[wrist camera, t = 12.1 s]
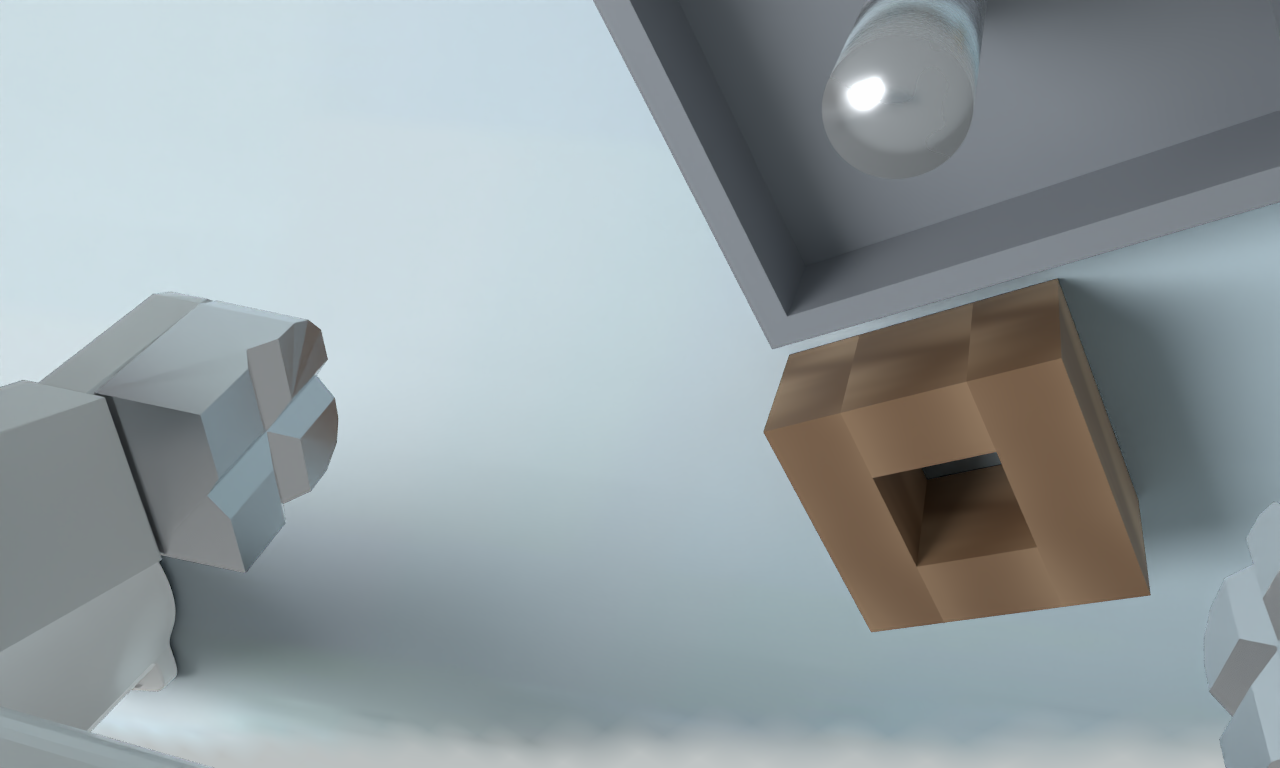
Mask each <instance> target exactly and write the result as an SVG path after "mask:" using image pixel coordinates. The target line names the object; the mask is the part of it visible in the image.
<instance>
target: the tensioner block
mask: <svg viewBox="0 0 1280 768" xmlns="http://www.w3.org/2000/svg"><path fill="white" fill-rule="evenodd" d="M764 434H765V436H766V438H767V440H768V441H769V443H770V445H771V447H772V449H773V451H774V453H775V454H776V456H777V458H778V460H779V462H780V464H781V466H782V467H783V469H784V471H785V473H786V475H787V477H788V479H789V480H790V482H791V484H792V486H793V488H794V490H795V492H796V493H797V495H798V497H799V499H800V501H801V503H802V505H803V506H804V508H805V510H806V512H807V514H808V516H809V518H810V519H811V521H812V523H813V525H814V527H815V529H816V531H817V533H818V534H819V536H820V538H821V540H822V542H823V544H824V546H825V547H826V549H827V551H828V553H829V555H830V557H831V559H832V560H833V562H834V564H835V566H836V568H837V570H838V572H839V573H840V575H841V577H842V579H843V581H844V583H845V585H846V586H847V588H848V590H849V592H850V594H851V596H852V598H853V599H854V601H855V603H856V605H857V607H858V609H859V611H860V612H861V614H862V616H863V618H864V620H865V622H866V624H867V625H868V627H869V629H870V631H871V632H877V631H884V630H892V629H899V628H907V627H915V626H922V625H930V624H937V623H945V622H952V621H960V620H967V619H975V618H982V617H990V616H998V615H1005V614H1013V613H1020V612H1028V611H1035V610H1043V609H1050V608H1058V607H1065V606H1073V605H1081V604H1088V603H1096V602H1103V601H1111V600H1118V599H1126V598H1133V597H1141V596H1148V595H1151V594H1150V586H1149V579H1148V571H1147V563H1146V556H1145V548H1144V540H1143V532H1142V525H1141V517H1140V509H1139V502H1138V498H1137V495H1136V492H1135V490H1134V487H1133V484H1132V481H1131V479H1130V476H1129V473H1128V470H1127V468H1126V465H1125V462H1124V459H1123V457H1122V454H1121V451H1120V448H1119V446H1118V443H1117V440H1116V437H1115V435H1114V432H1113V429H1112V426H1111V424H1110V421H1109V418H1108V415H1107V413H1106V410H1105V407H1104V404H1103V402H1102V399H1101V396H1100V393H1099V391H1098V388H1097V385H1096V382H1095V380H1094V377H1093V374H1092V371H1091V369H1090V366H1089V363H1088V360H1087V358H1086V355H1085V352H1084V350H1083V347H1082V344H1081V341H1080V339H1079V336H1078V333H1077V330H1076V328H1075V325H1074V322H1073V319H1072V317H1071V314H1070V311H1069V308H1068V306H1067V303H1066V300H1065V297H1064V295H1063V292H1062V289H1061V286H1060V284H1059V281H1058V279H1054V280H1051V281H1047V282H1044V283H1040V284H1037V285H1033V286H1030V287H1026V288H1023V289H1019V290H1016V291H1012V292H1009V293H1005V294H1002V295H998V296H995V297H991V298H988V299H984V300H981V301H977V302H974V303H970V304H967V305H963V306H960V307H956V308H953V309H949V310H946V311H942V312H938V313H935V314H931V315H928V316H924V317H921V318H917V319H914V320H910V321H907V322H903V323H900V324H896V325H893V326H889V327H886V328H882V329H879V330H875V331H872V332H868V333H865V334H861V335H858V336H854V337H851V338H847V339H844V340H840V341H837V342H833V343H830V344H826V345H823V346H819V347H816V348H812V349H809V350H805V351H802V352H798V353H795V354H791V355H789V357H788V360H787V363H786V366H785V369H784V372H783V375H782V378H781V381H780V384H779V387H778V390H777V393H776V396H775V399H774V402H773V405H772V408H771V411H770V414H769V417H768V420H767V423H766V426H765V429H764ZM994 452H997V455H998V457H999V459H1000V462H1001V464H1002V465H997V466H992V467H987V468H982V469H977V470H972V471H967V472H963V473H958V474H953V475H948V476H943V477H938V478H933V479H928V480H927V478H926V476H925V474H924V472H923V470H922V467H927V466H932V465H937V464H941V463H946V462H951V461H956V460H960V459H965V458H970V457H975V456H979V455H984V454H989V453H994Z"/></svg>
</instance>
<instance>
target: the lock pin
mask: <svg viewBox="0 0 1280 768" xmlns="http://www.w3.org/2000/svg"><path fill="white" fill-rule="evenodd" d="M986 7H987V0H865V2H864V5H863V7H862V9H861V11H860V13H859V15H858V17H857V20H856V22H855V24H854V26H853V28H852V30H851V32H850V35H849V37H848V39H847V41H846V43H845V45H844V47H843V50H842V52H841V54H840V56H839V58H838V60H837V63H836V65H835V67H834V69H833V71H832V73H831V75H830V78H829V80H828V82H827V84H826V87H825V91H824V94H823V100H822V118H823V124H824V128H825V131H826V134H827V136H828V139H829V140H830V142H831V144H832V146H833V147H834V148H835V150H836V151H837V152H838V154H839V155H840V156H841V157H842V158H843V159H844V160H845V161H847V162H848V163H849V164H850V165H852V166H853V167H855V168H857V169H858V170H860V171H862V172H864V173H867V174H869V175H873V176H876V177H881V178H887V179H903V178H910V177H915V176H918V175H922V174H925V173H927V172H929V171H931V170H933V169H935V168H937V167H938V166H940V165H941V164H943V163H944V162H945V161H947V160H948V159H949V158H950V157H951V156H952V155H953V154H954V153H955V152H956V151H957V149H958V148H959V147H960V145H961V144H962V142H963V141H964V139H965V137H966V135H967V133H968V130H969V128H970V125H971V121H972V117H973V109H974V101H975V93H976V86H977V78H978V70H979V62H980V54H981V46H982V39H983V31H984V23H985V15H986Z"/></svg>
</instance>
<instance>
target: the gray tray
mask: <svg viewBox="0 0 1280 768" xmlns="http://www.w3.org/2000/svg"><path fill="white" fill-rule="evenodd" d="M593 1H594V3H595V5H596V7H597V9H598V11H599V13H600V15H601V16H602V18H603V20H604V22H605V24H606V26H607V28H608V30H609V32H610V34H611V36H612V38H613V40H614V42H615V44H616V46H617V48H618V50H619V52H620V54H621V55H622V57H623V59H624V61H625V63H626V65H627V67H628V69H629V71H630V73H631V75H632V77H633V79H634V81H635V83H636V85H637V87H638V89H639V91H640V93H641V94H642V96H643V98H644V100H645V102H646V104H647V106H648V108H649V110H650V112H651V114H652V116H653V118H654V120H655V122H656V124H657V126H658V128H659V130H660V132H661V133H662V135H663V137H664V139H665V141H666V143H667V145H668V147H669V149H670V151H671V153H672V155H673V157H674V159H675V161H676V163H677V165H678V167H679V169H680V171H681V172H682V174H683V176H684V178H685V180H686V182H687V184H688V186H689V188H690V190H691V192H692V194H693V196H694V198H695V200H696V202H697V204H698V206H699V208H700V210H701V211H702V213H703V215H704V217H705V219H706V221H707V223H708V225H709V227H710V229H711V231H712V233H713V235H714V237H715V239H716V241H717V243H718V245H719V247H720V249H721V250H722V252H723V254H724V256H725V258H726V260H727V262H728V264H729V266H730V268H731V270H732V272H733V274H734V276H735V278H736V280H737V282H738V284H739V286H740V288H741V289H742V291H743V293H744V295H745V297H746V299H747V301H748V303H749V305H750V307H751V309H752V311H753V313H754V315H755V317H756V319H757V321H758V323H759V325H760V327H761V328H762V330H763V332H764V334H765V336H766V338H767V340H768V342H769V344H770V346H771V348H772V349H775V348H779V347H782V346H786V345H789V344H793V343H796V342H800V341H803V340H806V339H810V338H813V337H817V336H820V335H824V334H827V333H831V332H834V331H837V330H841V329H844V328H848V327H851V326H855V325H858V324H862V323H865V322H868V321H872V320H875V319H879V318H882V317H886V316H889V315H892V314H896V313H899V312H903V311H906V310H910V309H913V308H917V307H920V306H923V305H927V304H930V303H934V302H937V301H941V300H944V299H948V298H951V297H954V296H958V295H961V294H965V293H968V292H972V291H975V290H979V289H982V288H985V287H989V286H992V285H996V284H999V283H1003V282H1006V281H1010V280H1013V279H1016V278H1020V277H1023V276H1027V275H1030V274H1034V273H1037V272H1041V271H1044V270H1047V269H1051V268H1054V267H1058V266H1061V265H1065V264H1068V263H1071V262H1075V261H1078V260H1082V259H1085V258H1089V257H1092V256H1096V255H1099V254H1102V253H1106V252H1109V251H1113V250H1116V249H1120V248H1123V247H1127V246H1130V245H1133V244H1137V243H1140V242H1144V241H1147V240H1151V239H1154V238H1158V237H1161V236H1164V235H1168V234H1171V233H1175V232H1178V231H1182V230H1185V229H1189V228H1192V227H1195V226H1199V225H1202V224H1206V223H1209V222H1213V221H1216V220H1220V219H1223V218H1226V217H1230V216H1233V215H1237V214H1240V213H1244V212H1247V211H1250V210H1254V209H1257V208H1261V207H1264V206H1268V205H1271V204H1275V203H1278V202H1280V0H987V7H986V15H985V23H984V31H983V39H982V46H981V54H980V62H979V70H978V78H977V86H976V93H975V101H974V109H973V117H972V121H971V125H970V128H969V130H968V133H967V135H966V137H965V139H964V141H963V142H962V144H961V145H960V147H959V148H958V149H957V151H956V152H955V153H954V154H953V155H952V156H951V157H950V158H949V159H948V160H947V161H945V162H944V163H943V164H941V165H940V166H938V167H937V168H935V169H933V170H931V171H929V172H927V173H925V174H922V175H918V176H915V177H910V178H903V179H887V178H881V177H876V176H873V175H869V174H867V173H864V172H862V171H860V170H858V169H857V168H855V167H853V166H852V165H850V164H849V163H848V162H847V161H845V160H844V159H843V158H842V157H841V156H840V155H839V154H838V152H837V151H836V150H835V148H834V147H833V146H832V144H831V142H830V140H829V139H828V136H827V134H826V131H825V128H824V124H823V118H822V100H823V94H824V91H825V87H826V84H827V82H828V80H829V78H830V75H831V73H832V71H833V69H834V67H835V65H836V63H837V60H838V58H839V56H840V54H841V52H842V50H843V47H844V45H845V43H846V41H847V39H848V37H849V35H850V32H851V30H852V28H853V26H854V24H855V22H856V20H857V17H858V15H859V13H860V11H861V9H862V7H863V5H864V2H865V0H593Z"/></svg>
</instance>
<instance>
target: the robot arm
mask: <svg viewBox="0 0 1280 768" xmlns="http://www.w3.org/2000/svg"><path fill="white" fill-rule="evenodd" d="M327 360H328V358H327V354H326V350H325V345H324V341H323V337H322V332H321V329H319V328H318V327H317V326H315V325H314V324H313V323H312V322H310V321H309V320H307V319H302V318H297V317H292V316H288V315H283V314H278V313H273V312H269V311H264V310H259V309H255V308H250V307H245V306H240V305H236V304H231V303H226V302H222V301H212V300H209V299H205V298H200V297H195V296H190V295H185V294H180V293H175V292H165V293H157V294H152V295H151V296H150V297H148V298H147V299H146V300H145V301H143V302H142V303H141V304H139V305H138V306H137V307H135V308H134V309H133V310H132V311H130V312H129V313H128V314H126V315H125V316H124V317H123V318H121V319H120V320H119V321H117V322H116V323H115V324H114V325H112V326H111V327H110V328H108V329H107V330H106V331H104V332H103V333H102V334H101V335H99V336H98V337H97V338H95V339H94V340H93V341H92V342H90V343H89V344H88V345H86V346H85V347H84V348H83V349H81V350H80V351H79V352H77V353H76V354H75V355H74V356H72V357H71V358H70V359H68V360H67V361H66V362H64V363H63V364H62V365H61V366H59V367H58V368H57V369H55V370H54V371H53V372H52V373H50V374H49V375H48V376H46V377H45V378H44V379H43V380H41V381H40V382H39V383H37V382H32V381H27V380H21V381H18V382H15V383H12V384H9V385H5V386H2V387H0V768H214V767H210V766H207V765H203V764H200V763H196V762H193V761H189V760H186V759H182V758H179V757H175V756H172V755H168V754H165V753H161V752H158V751H154V750H151V749H147V748H144V747H141V746H137V745H134V744H130V743H127V742H123V741H120V740H116V739H113V738H109V737H106V736H102V735H99V734H95V733H92V732H91V731H92V730H93V729H94V728H95V727H96V726H97V725H98V724H99V723H100V722H101V721H102V720H103V719H104V718H105V717H106V716H107V715H108V714H109V712H110V711H111V710H112V709H113V708H114V707H115V706H116V705H117V704H118V703H119V702H120V701H121V700H122V699H123V698H124V697H125V696H126V695H127V694H128V693H129V692H130V691H131V690H138V691H161V690H163V689H164V688H165V687H166V686H167V685H168V684H169V683H170V682H171V681H172V680H173V679H174V678H175V677H176V676H177V667H176V663H175V659H174V656H173V653H172V650H171V648H170V636H171V632H172V629H173V626H174V622H175V602H174V597H173V593H172V590H171V587H170V584H169V582H168V579H167V577H166V575H165V573H164V571H163V569H162V567H161V565H160V564H159V561H161V559H162V558H161V555H163V556H167V557H172V558H177V559H181V560H186V561H191V562H196V563H200V564H205V565H210V566H214V567H219V568H224V569H228V570H233V571H238V572H242V573H246V572H247V571H248V570H249V568H250V567H251V566H252V565H253V563H254V562H255V561H256V560H257V558H258V557H259V556H260V555H261V553H262V552H263V551H264V550H265V548H266V547H267V546H268V545H269V543H270V542H271V541H272V540H273V538H274V537H275V536H276V535H277V533H278V532H279V531H280V530H281V528H282V527H283V526H284V525H285V523H286V522H285V514H284V505H283V504H284V503H286V502H288V501H291V500H293V499H295V498H297V497H299V496H301V495H304V494H306V493H308V492H310V491H311V490H312V489H313V488H314V486H315V485H316V484H317V482H318V481H319V480H320V478H321V477H322V476H323V474H324V473H325V472H326V470H327V468H328V465H329V462H330V460H331V457H332V454H333V451H334V449H335V446H336V443H337V431H338V414H337V408H336V402H335V397H334V396H333V395H332V394H331V393H330V391H329V390H328V389H327V388H326V387H325V385H324V384H323V383H322V382H321V380H320V379H319V378H318V377H317V376H316V375H317V374H318V373H319V371H320V370H321V368H322V367H323V365H324V364H325V363H326V361H327ZM1246 541H1247V544H1248V548H1249V552H1250V555H1251V559H1252V562H1253V564H1252V565H1250V566H1248V567H1246V568H1244V569H1242V570H1240V571H1238V572H1236V573H1234V574H1232V575H1230V576H1228V577H1226V578H1224V580H1223V582H1222V584H1221V586H1220V589H1219V591H1218V593H1217V595H1216V597H1215V599H1214V601H1213V603H1212V605H1211V607H1210V611H1209V616H1208V621H1207V626H1206V631H1205V636H1204V667H1205V672H1206V677H1207V683H1208V688H1209V692H1210V693H1211V694H1212V695H1213V696H1214V697H1215V698H1216V699H1217V701H1218V702H1219V703H1220V704H1221V705H1222V706H1223V707H1224V708H1225V709H1226V710H1227V711H1228V712H1229V713H1230V715H1231V716H1232V719H1231V720H1230V722H1229V724H1228V725H1227V727H1226V729H1225V730H1224V732H1223V734H1222V735H1221V737H1220V739H1219V740H1220V745H1221V749H1222V754H1223V758H1224V763H1225V767H1226V768H1280V503H1277V502H1272V503H1271V504H1270V505H1269V506H1268V507H1267V508H1266V509H1265V510H1264V511H1263V512H1262V513H1260V514H1259V516H1258V517H1257V519H1256V521H1255V523H1254V525H1253V526H1252V528H1251V530H1250V532H1249V534H1248V535H1247V537H1246Z"/></svg>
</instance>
